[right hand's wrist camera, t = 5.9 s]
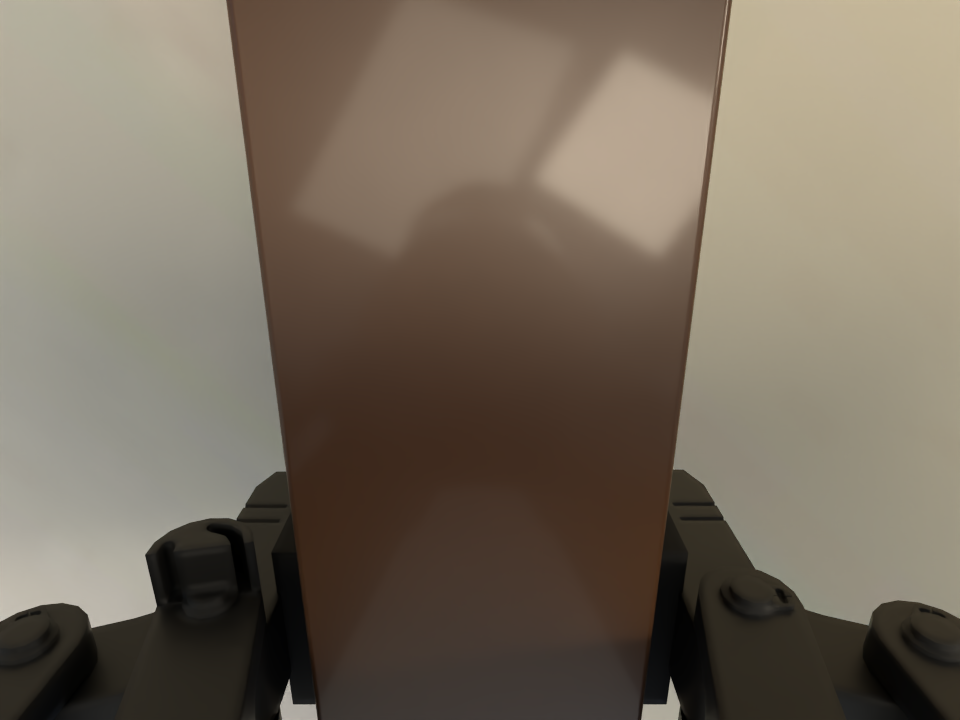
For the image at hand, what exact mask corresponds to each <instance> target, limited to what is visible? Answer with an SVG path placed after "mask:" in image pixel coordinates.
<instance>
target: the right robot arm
mask: <svg viewBox="0 0 960 720" xmlns="http://www.w3.org/2000/svg"><path fill="white" fill-rule="evenodd" d="M145 556H146V561H147V565H148V569H149V573H150V578H151V582H152V586H153V590H154V595H155V599H156V603H157V608H156V611H155V612H154V613H151V614H148V615H144V616H141V617H138V618H134V619H130V620H125V621H121V622H117V623H112V624H108V625H104V626H99V627H95V628H91V625H90V622H89V618H88V615H87V614H86V613H85V612H84V611H83V610H82V609H81V608H80V607H79V606H74V605H69V604H64V603H59V604H49V605H41V606H38V607H34V608H31V609H28V610H25V611H22V612H19V613H16V614H15V615H13V616H11V617H9V618H7V619H5V620H3V621H1V622H0V720H282V717H281V711H280V704H281V701H282V698H283V695H284V692H285V689H286V686H287V684H288V681H289V679H290V686H291V693H292V699H293V704H316V702H315V694H314V686H313V678H312V670H311V663H310V655H309V647H308V639H307V631H306V623H305V615H304V607H303V600H302V592H301V584H300V576H299V568H298V560H297V552H296V545H295V537H294V529H293V521H292V513H291V505H290V497H289V490H288V482H287V474H286V472H275V473H274V474H273V475H271V476H270V477H269V478H267V479H266V480H265V481H263V482H262V483H261V484H259V485H258V486H257V487H256V488H255V490H254V491H253V493H252V495H251V496H250V498H249V500H248V501H247V503H246V507H245V508H243V509H242V511H241V513H240V514H239V516H238V518H237V521H236V520H233V519H229V518H210V519H205V520H201V521H196V522H191V523H188V524H186V525H184V526H181V527H179V528H177V529H174V530H172V531H170V532H169V533H167V534H166V535H164V536H163V537H161V538H160V539H159V540H157V541H156V542H155V543H154V544H153V545H152V547H151V548H150V549H149V551H148V552H147V553H146V555H145ZM670 676H671V679H672V682H673V685H674V687H675V690H676V693H677V696H678V699H679V702H680V711H679V717H678V720H960V619H959V618H957V617H955V616H953V615H951V614H949V613H947V612H945V611H943V610H941V609H938V608H935V607H931V606H928V605H925V604H922V603H918V602H908V601H899V600H898V601H893V602H888V603H883V604H881V605H880V606H879V607H878V608H877V609H876V610H874V611H873V613H872V616H871V620H870V623H869V626H868V625H863V624H859V623H855V622H850V621H846V620H841V619H837V618H833V617H828V616H824V615H821V614H817V613H814V612H811V611H808V610H805V609H804V607H803V605H802V603H801V602H800V600H799V599H798V597H797V596H796V594H795V593H794V591H792V590H791V589H790V588H789V587H787V586H786V585H785V584H784V583H782V582H781V581H780V580H778V579H776V578H774V577H772V576H770V575H768V574H766V573H764V572H762V571H759V570H755V568H754V566H753V565H752V563H751V561H750V560H749V558H748V556H747V555H746V553H745V552H744V550H743V548H742V547H741V545H740V543H739V542H738V540H737V539H736V537H735V535H734V534H733V532H732V530H731V529H730V527H729V525H728V524H727V522H726V521H724V520H723V516H722V514H721V512H720V511H719V509H718V507H717V506H715V505H714V501H713V499H712V498H711V496H710V494H709V493H708V491H707V489H706V488H705V486H704V485H703V484H702V483H700V482H699V481H698V480H696V479H695V478H694V477H692V476H691V475H690V474H688V473H687V472H686V471H684V470H673V472H672V480H671V488H670V496H669V504H668V512H667V520H666V528H665V536H664V544H663V551H662V559H661V567H660V575H659V583H658V591H657V599H656V607H655V615H654V623H653V631H652V638H651V646H650V654H649V662H648V670H647V678H646V686H645V694H644V702H643V704H667V697H668V690H669V683H670Z"/></svg>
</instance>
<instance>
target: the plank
mask: <svg viewBox="0 0 960 720" xmlns="http://www.w3.org/2000/svg"><path fill="white" fill-rule="evenodd" d="M226 2H227V10H228V18H229V26H230V33H231V41H232V49H233V57H234V65H235V73H236V81H237V89H238V96H239V104H240V112H241V120H242V128H243V136H244V144H245V151H246V159H247V167H248V175H249V183H250V191H251V199H252V206H253V214H254V222H255V230H256V238H257V246H258V254H259V262H260V269H261V277H262V285H263V293H264V301H265V309H266V317H267V324H268V332H269V340H270V348H271V356H272V364H273V372H274V379H275V387H276V395H277V403H278V411H279V419H280V427H281V434H282V442H283V450H284V458H285V466H286V474H287V482H288V490H289V497H290V505H291V513H292V521H293V529H294V537H295V545H296V552H297V560H298V568H299V576H300V584H301V592H302V600H303V607H304V615H305V623H306V631H307V639H308V647H309V655H310V663H311V670H312V678H313V686H314V694H315V702H316V710H317V718H318V720H641V718H642V710H643V702H644V694H645V686H646V678H647V670H648V662H649V654H650V646H651V638H652V631H653V623H654V615H655V607H656V599H657V591H658V583H659V575H660V567H661V559H662V551H663V544H664V536H665V528H666V520H667V512H668V504H669V496H670V488H671V480H672V472H673V464H674V457H675V449H676V441H677V433H678V425H679V417H680V409H681V401H682V393H683V385H684V377H685V370H686V362H687V354H688V346H689V338H690V330H691V322H692V314H693V306H694V298H695V290H696V283H697V275H698V267H699V259H700V251H701V243H702V235H703V227H704V219H705V211H706V203H707V196H708V188H709V180H710V172H711V164H712V156H713V148H714V140H715V132H716V124H717V116H718V109H719V101H720V93H721V85H722V77H723V69H724V61H725V53H726V45H727V37H728V29H729V22H730V14H731V6H732V0H226Z"/></svg>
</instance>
